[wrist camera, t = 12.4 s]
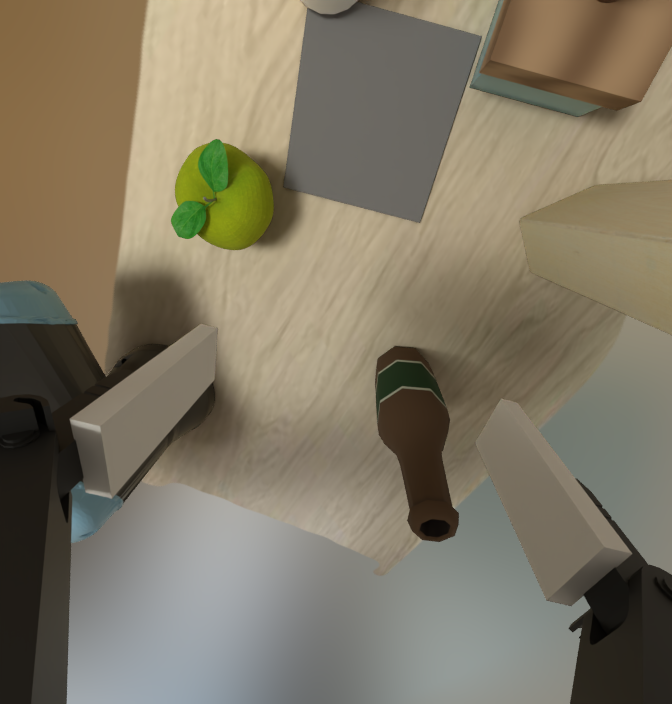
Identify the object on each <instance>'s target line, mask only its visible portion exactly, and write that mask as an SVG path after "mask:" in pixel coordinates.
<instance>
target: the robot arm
mask: <svg viewBox="0 0 672 704" xmlns="http://www.w3.org/2000/svg"><path fill="white" fill-rule="evenodd" d="M76 324H77V321H76V319H73V318H72V316H71V315H70V314H69V312H68V310H67V309H66V308H65V306H64V304H63V303H62V301H61V300H60V298H59V297H58V295H57V293H56V292H55V291H54V290H53V289H51V288H50V287H49V286H47V285H45V284H43V283H39V282H36V281H14V282H4V283H0V704H66V701H67V699H66V698H67V666H68V633H69V632H68V631H69V598H70V597H69V596H70V563H71V543H74V542H78V541H81V540H84V539H86V538H88V537H90V536H92V535H93V534H94V533H95V532H97V531H98V530H99V529H100V528H101V527H102V526H103V525H104V523H105V522H106V521H107V520H108V519H109V518H110V517H111V516H112V515H113V514H114V512H115V511H117V510H119V509H120V508H121V507H122V505H123V503H124V502H125V500H126V499H127V498H128V497H129V495H130V494H131V493H132V491H133V490H134V489H135V488H136V487H137V485H138V484H139V483H140V481H141V480H142V479H143V478H144V476H145V475H146V474H147V473H148V471H149V470H150V469H151V468H152V466H153V465H154V464H155V462H156V461H157V460H158V459H159V457H160V456H161V455H162V454H163V452H164V451H165V450H166V449H167V447H168V446H169V445H170V444H171V443H172V442H173V441H175V440H177V439H178V438H180V437H181V436H183V435H184V434H186V433H187V432H189V431H191V430H193V429H195V428H196V427H198V426H199V425H200V424H201V423H202V422H203V421H204V420H205V418H206V417H207V416H208V414H209V413H210V412H211V410H212V408H213V405H214V401H215V393H214V388H213V384H212V382H213V381H214V380H215V369H216V351H217V334H218V328H216V327H212V326H208V325H204V324H200V325H198V326H197V327H196V328H194V329H193V330H192V331H190V332H189V333H187V334H186V335H185V336H183V337H182V338H180V339H179V340H178V341H176V342H175V343H174V344H172V345H171V346H165V345H158V344H150V345H144V346H140V347H138V348H136V349H134V350H132V351H131V352H129V353H128V354H126V355H125V356H123V357H122V358H121V359H120V360H119V361H118V362H117V363H116V365H115V366H114V368H113V369H112V371H111V372H110V374H109V375H108V376H107V377H106V376H105V374H104V373H103V371H102V369H101V367H100V366H99V364H98V362H97V360H96V359H95V357H94V355H93V353H92V352H91V350H90V348H89V347H88V345H87V343H86V341H85V340H84V337H83V336H82V334H81V332H80V330H79V328H78V326H77V325H76ZM475 444H476V447H477V449H478V451H479V453H480V455H481V458H482V460H483V462H484V464H485V466H486V469H487V471H488V473H489V475H490V477H491V479H492V482H493V484H494V486H495V488H496V490H497V493H498V495H499V497H500V499H501V501H502V504H503V506H504V508H505V510H506V512H507V515H508V517H509V519H510V521H511V523H512V526H513V528H514V530H515V532H516V534H517V537H518V539H519V541H520V543H521V545H522V548H523V550H524V552H525V554H526V556H527V558H528V561H529V563H530V565H531V567H532V570H533V572H534V574H535V576H536V578H537V581H538V583H539V585H540V587H541V589H542V591H543V594H544V596H545V598H546V600H547V601H551V602H555V603H560V604H564V605H568V606H572V605H573V604H574V603H575V602H577V601H578V600H579V599H580V598H581V597H582V596H585V598H586V600H587V602H588V604H589V605H590V607H591V608H590V609H589V610H588V611H587V612H586V613H584V614H583V615H582V616H581V617H579V618H578V619H577V620H576V621H574V622H573V623H572V624H571V626H570V627H569V629H570V630H571V631H572V632H574V631H575V630H576V629H578V628H582V631H581V636H580V637H579V638H580V644H579V651H578V657H577V663H576V669H575V676H574V682H573V689H572V695H571V701H570V704H672V575H671V574H669V573H668V572H666V571H664V570H662V569H660V568H658V567H655V566H652V565H648V564H647V562H646V561H645V560H644V558H643V557H642V556H641V555H640V553H639V552H638V551H637V550H636V548H635V547H634V546H633V545H632V543H631V542H630V541H629V539H628V538H627V537H626V535H625V534H624V533H623V532H622V530H621V529H620V528H619V527H618V525H617V524H616V523H615V521H613V520H611V516H610V515H609V514H608V512H607V511H606V510H605V509H603V508H602V505H601V504H600V502H599V501H598V500H597V499H596V497H595V496H594V495H593V493H592V492H591V491H590V490H589V489H588V488H586V487H585V486H584V485H583V484H582V483H581V482H580V481H579V480H578V479H576V478H574V476H573V475H572V474H571V472H570V471H569V470H568V469H567V467H566V466H565V465H564V463H563V462H562V461H561V459H560V458H559V457H558V455H557V454H556V453H555V452H554V450H553V449H552V447H551V446H550V445H549V444H548V443H547V441H546V440H545V438H544V437H543V436H542V434H541V433H540V432H539V430H538V429H537V428H536V426H535V425H534V424H533V423H532V421H531V420H530V419H529V417H528V416H527V415H526V413H525V412H524V411H523V409H522V408H521V407H520V405H519V404H518V403H517V402H513V401H509V400H505V399H500V401H499V403H498V404H497V406H496V408H495V410H494V411H493V413H492V415H491V416H490V418H489V420H488V421H487V423H486V425H485V426H484V428H483V430H482V432H481V433H480V435H479V437H478V438H477V440H476V442H475Z"/></svg>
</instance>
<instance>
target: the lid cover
mask: <svg viewBox="0 0 672 704" xmlns="http://www.w3.org/2000/svg"><path fill="white" fill-rule="evenodd" d="M671 46H672V0H504V1H503V4H502V7H501V10H500V13H499V16H498V19H497V22H496V25H495V28H494V31H493V34H492V36H491V39H490V42H489V45H488V48H487V51H486V54H485V57H484V60H483V63H482V66H481V69H480V71H479V73H481V74H485V75H488V76H492V77H496V78H499V79H503V80H507V81H510V82H514V83H518V84H521V85H525V86H529V87H532V88H536V89H539V90H543V91H547V92H550V93H554V94H558V95H561V96H565V97H569V98H572V99H576V100H580V101H583V102H587V103H591V104H594V105H598V106H602V107H605V108H609V109H612V110H616V111H617V110H620V109H623V108H625V107H628V106H631V105H633V104H636V103H639V102H641V101H642V99H643V97H644V95H645V94H646V92H647V90H648V88H649V86H650V85H651V83H652V81H653V79H654V77H655V75H656V74H657V72H658V70H659V68H660V66H661V64H662V63H663V61H664V59H665V57H666V55H667V54H668V52H669V50H670V48H671Z"/></svg>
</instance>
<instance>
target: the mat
mask: <svg viewBox="0 0 672 704" xmlns="http://www.w3.org/2000/svg"><path fill="white" fill-rule="evenodd" d="M481 37H482V36H479V35H475V34H471V33H468V32H464V31H461V30H457V29H453V28H450V27H446V26H442V25H439V24H435V23H432V22H428V21H424V20H421V19H417V18H413V17H410V16H406V15H403V14H399V13H395V12H392V11H388V10H385V9H381V8H377V7H374V6H370V5H366V4H363V3H359V2H356V3H354V4H353V5H352V6H351V7H350V8H349V9H347V10H345V11H342V12H339V13H337V14H320V13H318V12H316V11H314V10H312V9H310V8H307V15H306V22H305V30H304V37H303V45H302V52H301V60H300V67H299V75H298V82H297V90H296V97H295V105H294V112H293V120H292V127H291V134H290V142H289V149H288V157H287V164H286V172H285V179H284V188H288V189H292V190H296V191H300V192H304V193H307V194H311V195H315V196H319V197H323V198H327V199H330V200H334V201H338V202H342V203H346V204H350V205H353V206H357V207H361V208H365V209H369V210H373V211H376V212H380V213H384V214H388V215H392V216H396V217H399V218H403V219H407V220H411V221H415V222H419V223H420V221H421V218H422V215H423V212H424V209H425V206H426V203H427V200H428V197H429V194H430V191H431V187H432V184H433V181H434V178H435V175H436V172H437V169H438V166H439V163H440V160H441V157H442V154H443V151H444V148H445V145H446V142H447V139H448V136H449V133H450V130H451V127H452V124H453V121H454V118H455V115H456V112H457V109H458V106H459V103H460V100H461V97H462V94H463V91H464V88H465V85H466V82H467V79H468V76H469V73H470V70H471V67H472V64H473V61H474V58H475V55H476V52H477V49H478V46H479V43H480V40H481Z"/></svg>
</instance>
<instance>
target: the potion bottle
mask: <svg viewBox="0 0 672 704" xmlns="http://www.w3.org/2000/svg"><path fill="white" fill-rule="evenodd" d="M301 1H302V2H303V4H304V5H305V6H306V7H308V8H310V9H312V10H314V11H316V12H318V13H320V14H337V13H339V12H342V11H345V10H347V9H349V8H350V7H351V6H352V5H353V4H354V3H356V2H357V1H358V0H301Z"/></svg>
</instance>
